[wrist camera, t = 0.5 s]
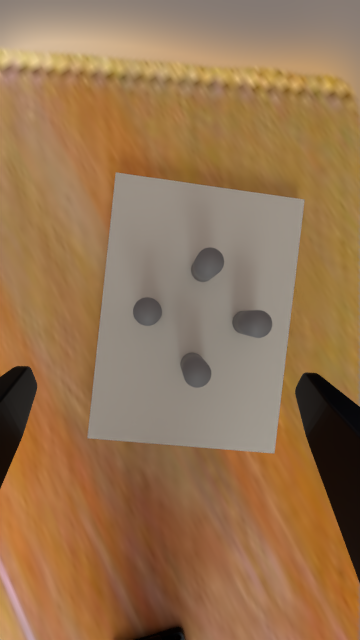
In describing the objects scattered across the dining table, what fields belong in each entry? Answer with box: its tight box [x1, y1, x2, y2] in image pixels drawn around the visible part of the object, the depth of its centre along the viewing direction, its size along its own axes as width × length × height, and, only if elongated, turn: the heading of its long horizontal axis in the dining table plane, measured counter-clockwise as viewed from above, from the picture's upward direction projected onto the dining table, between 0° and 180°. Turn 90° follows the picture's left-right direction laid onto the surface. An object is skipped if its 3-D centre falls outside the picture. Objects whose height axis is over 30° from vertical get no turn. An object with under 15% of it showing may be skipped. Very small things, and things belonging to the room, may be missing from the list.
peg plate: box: [88, 173, 304, 453], centre depth 21 cm, size 22×16×5 cm
